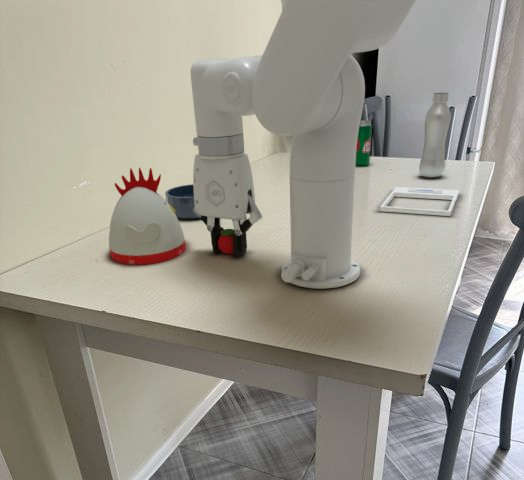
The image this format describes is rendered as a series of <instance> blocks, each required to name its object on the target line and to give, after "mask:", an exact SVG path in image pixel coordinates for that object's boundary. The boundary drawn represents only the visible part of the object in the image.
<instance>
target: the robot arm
mask: <svg viewBox="0 0 524 480" xmlns="http://www.w3.org/2000/svg"><path fill="white" fill-rule="evenodd" d="M280 2H281V3H280V4H281V13H280V15H279V17H278V20H277V21H276V24H275V26H274V28H273V30H272V32H271V35H270V37H269V39H268V42H267V44H266V47H265V49H264V50H263V53H262V54H259V55H252V56H242V57H241V56H240V57H236V58H233V59H231V58H211V59H201V60H196V61H195V62H193V64H192V65H191V67H190V83H191V92H192V103H193V110H194V111H193V112H194V118H195V119H194V122H195V131H196V137H193V139H192V144H193V146H195V147H197V151H198V154H195V155H194V160H193V173H192V175H193V176H192V179H193V181H192V183H193V187H194V203H195V206H194V208H193V212H194V213H195V214H196V215H197V216H199V217H200V219H201V221H202V222H203V224H204V225H205V226H206V229H207V231H208V232H210V239H211V240H210V241H211V246H212V247H211V248H212V253H213V254H219V253H220V252H222V251H221V250H220V249H219V246H218V239H219V237H220V235H221V231H222V230H224V227H223V226H222V219H224V220H231V222H232V226H233V229H234V230H235V235H233V249H234V253H233V256H234V257H235V258H239V257H241V256H242V255H244V254H246V252H247V249H248V241H247V232H248V231H249V230H250V228H251V227H252V226H253V225H255V224H256V223H257V222H259V221H261V220H262V219H263V215H262V213H261V211H260V209H259V207H258V206H257V204H256V197H255V196H256V195H255V184H254V179H253V173H252V167H251V163H250V159H249V156H248V153H245V141H244V124H243V123H244V122H243V117H247V116H255V118H256V119H257V120H258V122H259V123H260V125H261V126H262V127H263V128H264V129H265V130H266V131H268V132H269V133H271V134H273V135H276V136H281V137H293V138H292V141H291V145H290V152H289V223H290V225H289V226H290V227H289V228H290V229H289V230H290V259H288V260H286V261H285V262H284V263H283V264H282V265H281V273H280V277H281V280H282V281H283V282H285V283H289V284H292V285H294V286H297V287H301V288H307V289H317V290H319V289H322V290H324V289H325V290H326V289H335V288H340V287H344V286H347V285H350V284H351V283H353V282H355V281H356V280H358V279H359V277H360V275H361V266H360V264H359V263H358V261H356V260H354V259H353V258H352V239H353V219H354V218H353V217H354V199H355V198H354V197H355V179H356V177H355V176H356V166H355V164H356V149H357V139H358V132H359V126H360V121H362V115H363V110H364V104H365V97H366V95H365V94H366V83H365V76H364V73H363V70H362V68H361V65H360V64H359V62H358V61H357V60H356V59H355V58H354V56H353V55H351V54H357V53H366V52H371V51H375V50H378V49H380V48H382V47H384V46H385V45H387V44H388V43H389V42H390V41H391V40H392V39H393V38H394V37H395V36H396V34H397V32H398V31H399V29H400V28H401V26H402V24H403V23H404V21H405V20H406V18H407V16H408V14H409V13H410V11H411V9H412V7H413V6H414V5H415V3H416V2H417V0H280ZM247 215H249V217H247Z"/></svg>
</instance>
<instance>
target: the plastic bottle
mask: <svg viewBox="0 0 524 480" xmlns="http://www.w3.org/2000/svg"><path fill="white" fill-rule="evenodd" d="M431 102H432V104H431V106H430V107H429V108H428V110H427V111H426V112H425V115H424V141H423V142H424V143H423V149H422V154H421V159H420V161H419V166H418V169H419V170H418V171H419V174H420V176H422V177H424V178H429V179H431V178H437V177H441V176H442V175H443V174H444V172H445V168H446V160H445V159H446V158H445V156H446V155H445V154H446V142H447V137H448V131H449V127H450V124H451V120H452V113H451V110H450V107H449V106H448V104H447V103H448V102H449V92H435V93H434V92H433V94H432V99H431Z"/></svg>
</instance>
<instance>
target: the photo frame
mask: <svg viewBox="0 0 524 480" xmlns="http://www.w3.org/2000/svg"><path fill="white" fill-rule="evenodd" d="M459 195H460V190H459V189H445V188H444V189H442V188H427V187H425V188H424V187H409V186H407V187H405V186H395V187H394V189H393V190H392V191H391V192H390V194H388V196H387V197H386V199H384V201H383V202H382V203H381V204H380V206H379V212H388V213H399V214H401V213H402V214H415V215H416V214H417V215H429V216H443V217H444V216H445V217H451V216H452V212H453V210H454V207H455V204H456V202H457V200H458V197H459ZM394 197H398V198H400V197H401V198H415V199H431V200H446V201H447V200H448V201H451V202H450V204H449V206H448V209H447V210H445V209H431V208H430V209H429V208H417V207H404V206H403V207H402V206H388V205H389V204H390V203H391V201H392V200H393V199H394Z"/></svg>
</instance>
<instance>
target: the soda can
mask: <svg viewBox="0 0 524 480" xmlns="http://www.w3.org/2000/svg"><path fill="white" fill-rule="evenodd" d="M372 128H373V125H372V121H371V120H366V119H365V120H363V119H361V121H360V126H359V132H358V139H357V149H356V164H355V167H367V166H369V164H370V161H371V148H372V147H371V145H372V131H373V130H372Z"/></svg>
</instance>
